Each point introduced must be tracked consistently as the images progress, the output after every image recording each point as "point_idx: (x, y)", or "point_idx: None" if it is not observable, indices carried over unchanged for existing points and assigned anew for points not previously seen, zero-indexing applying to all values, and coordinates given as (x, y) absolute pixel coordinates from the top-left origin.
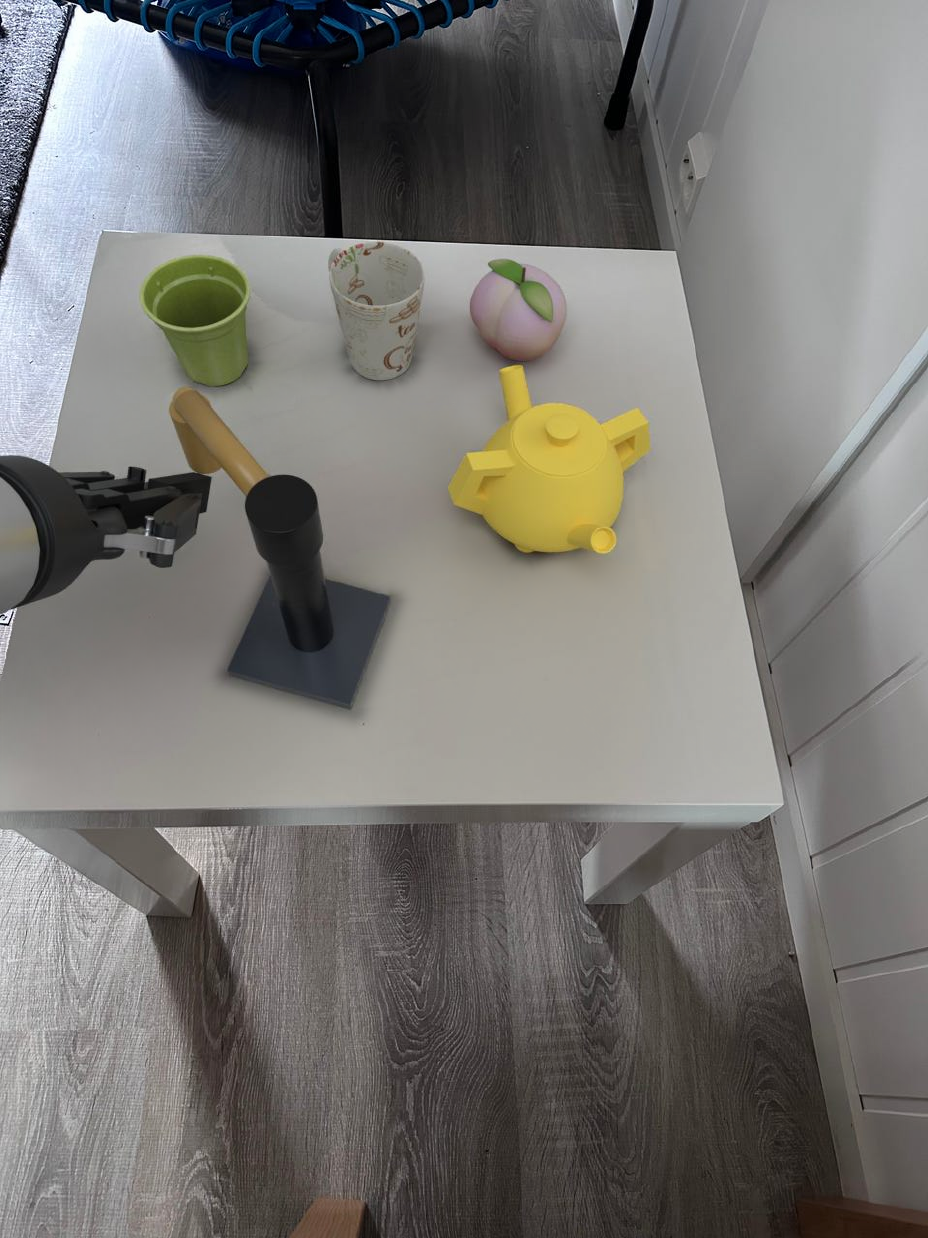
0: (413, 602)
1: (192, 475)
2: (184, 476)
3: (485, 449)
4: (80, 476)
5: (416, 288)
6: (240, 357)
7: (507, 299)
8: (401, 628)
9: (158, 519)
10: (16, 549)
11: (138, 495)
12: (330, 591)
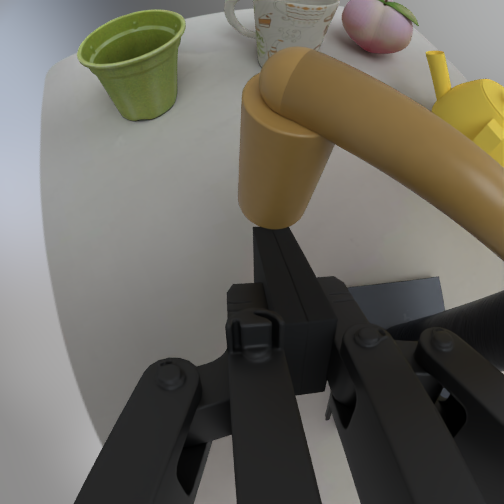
0: (445, 271)
1: (273, 239)
2: (275, 252)
3: (457, 117)
4: (148, 489)
5: (318, 3)
6: (175, 83)
7: (383, 11)
8: (449, 300)
9: None
10: None
11: (446, 491)
12: (394, 295)
